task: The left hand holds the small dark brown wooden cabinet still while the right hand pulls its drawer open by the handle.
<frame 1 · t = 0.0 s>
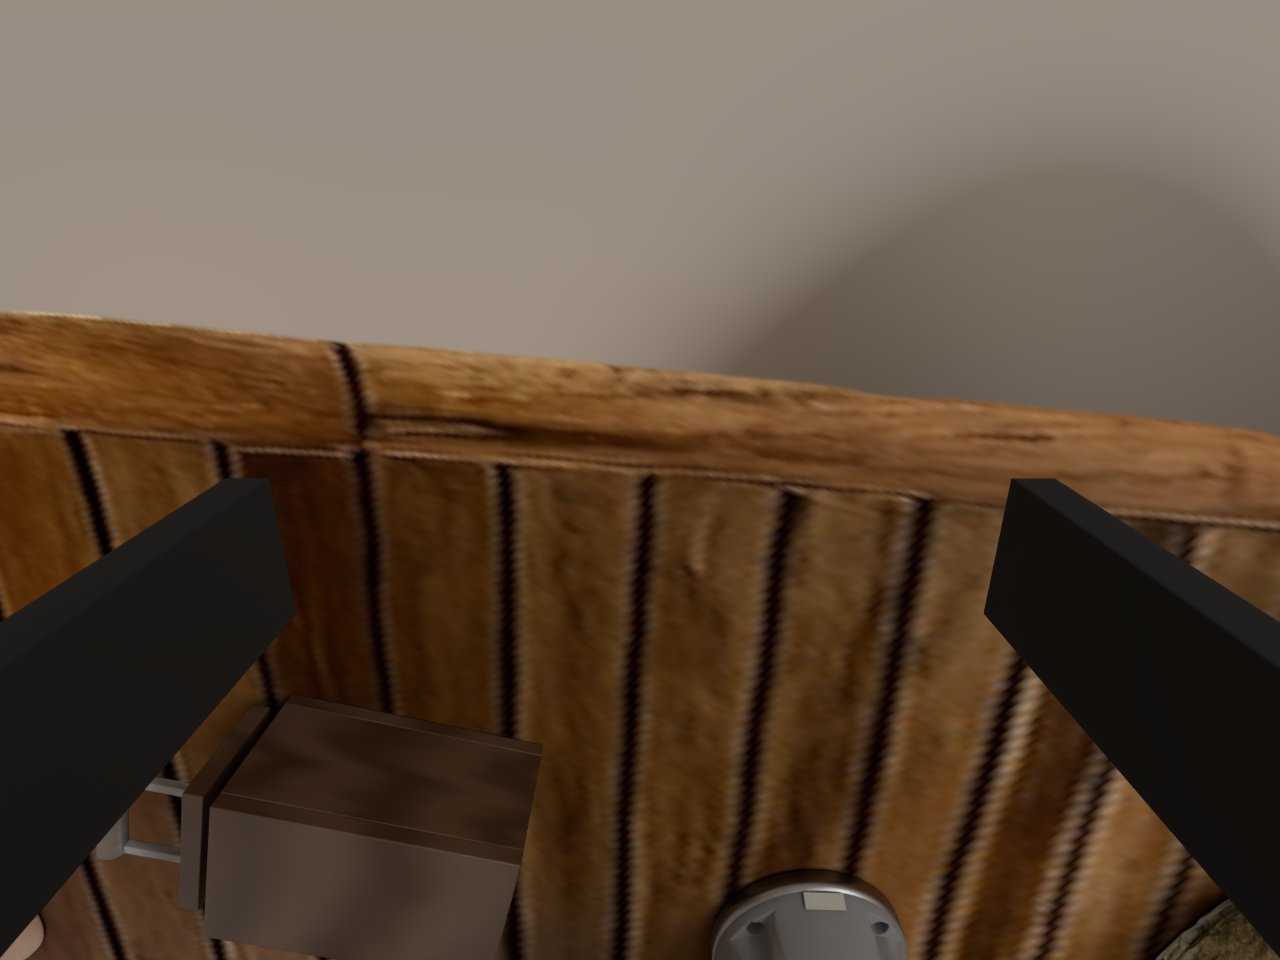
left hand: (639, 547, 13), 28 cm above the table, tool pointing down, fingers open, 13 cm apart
drawer: (297, 816, 45), point 5 cm above the table, slide at 0.9 cm
fossil: (1211, 943, 57), on the table
cabinet: (409, 777, 50), on the table
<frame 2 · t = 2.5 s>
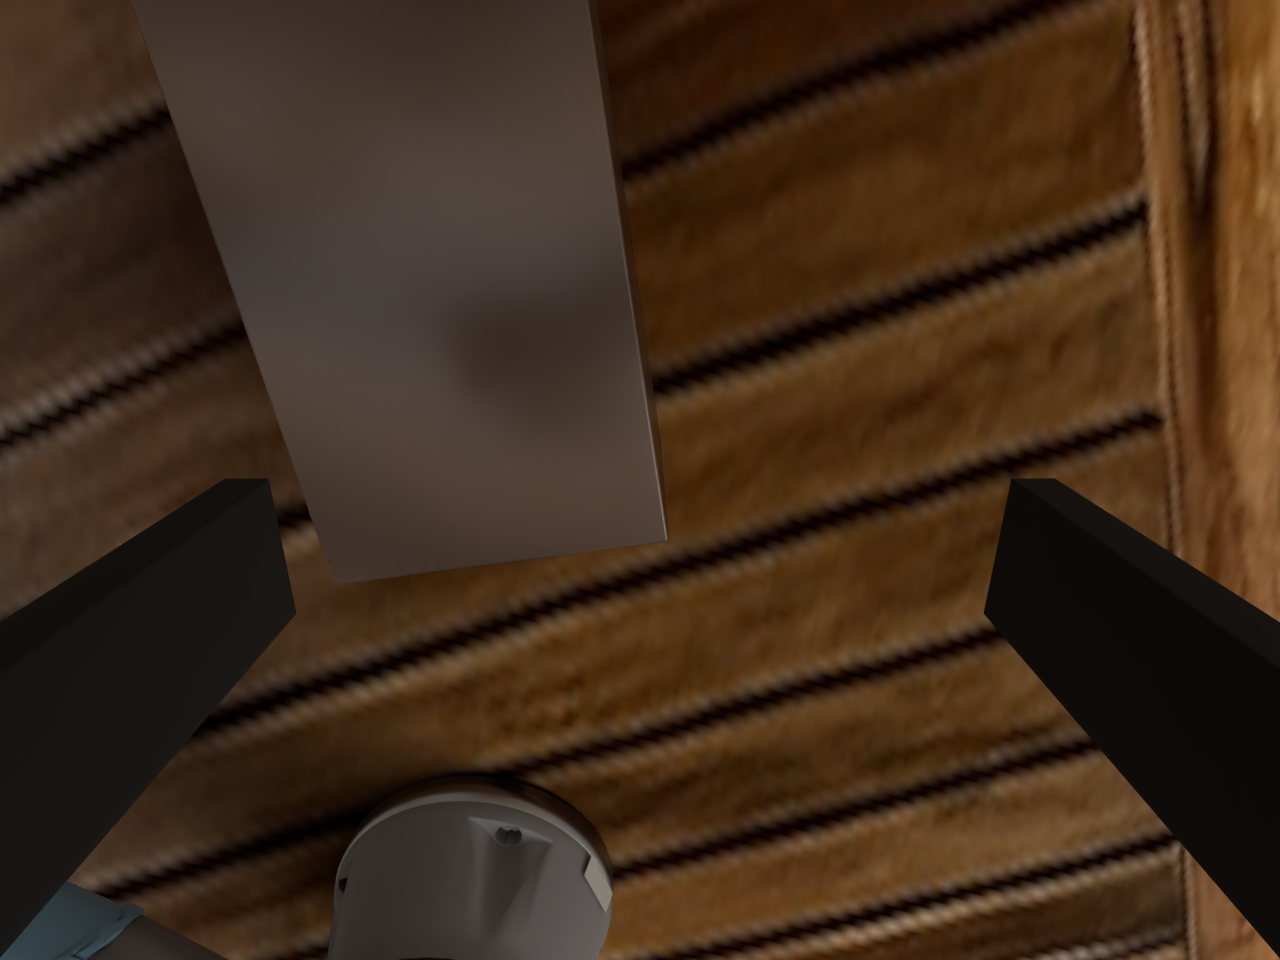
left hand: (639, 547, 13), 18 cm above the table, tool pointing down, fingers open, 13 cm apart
cabinet: (498, 254, 28), on the table
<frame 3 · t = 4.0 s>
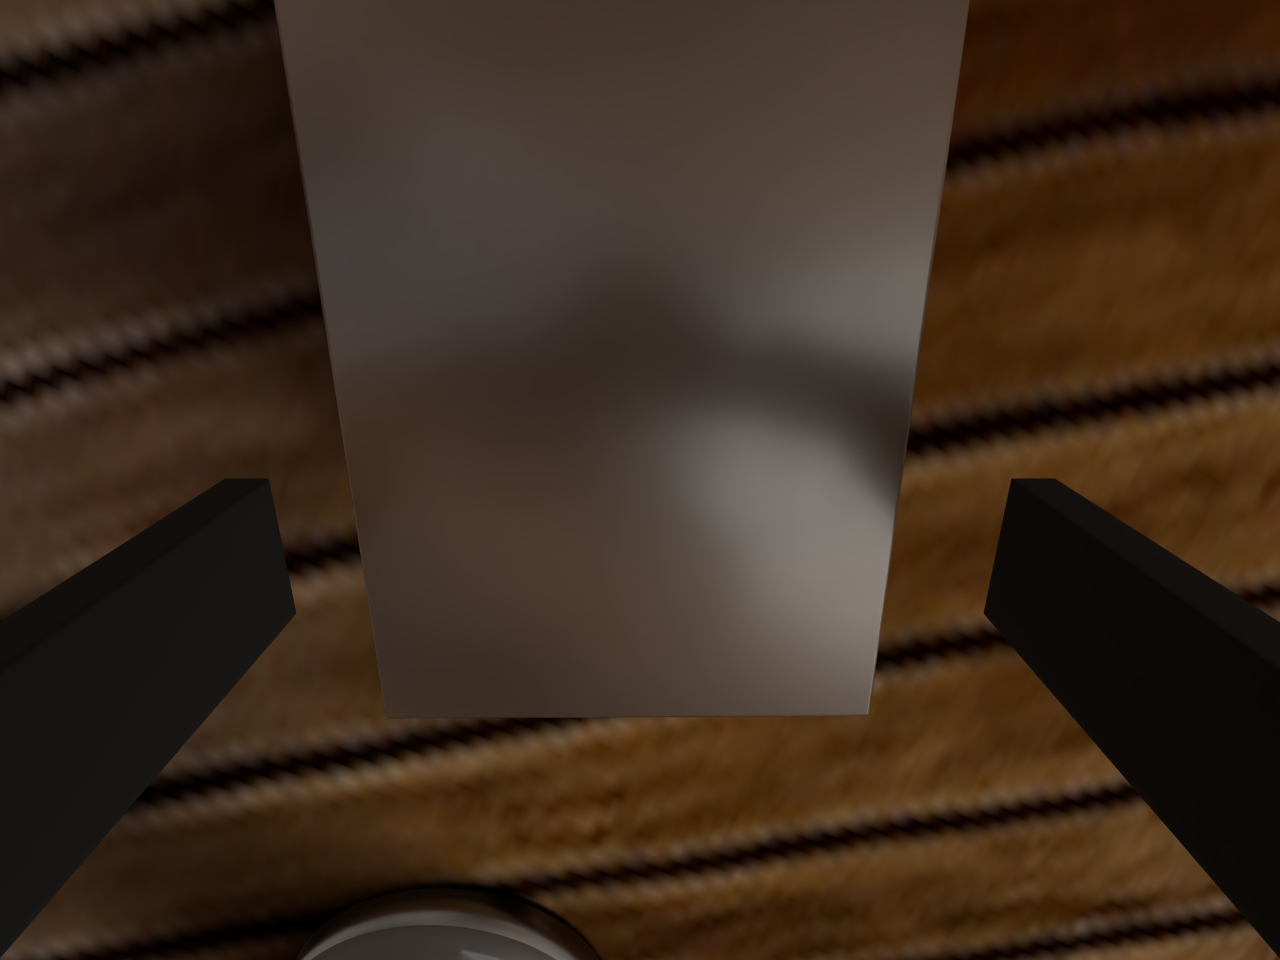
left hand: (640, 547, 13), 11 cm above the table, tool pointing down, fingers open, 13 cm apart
cabinet: (628, 272, 21), on the table
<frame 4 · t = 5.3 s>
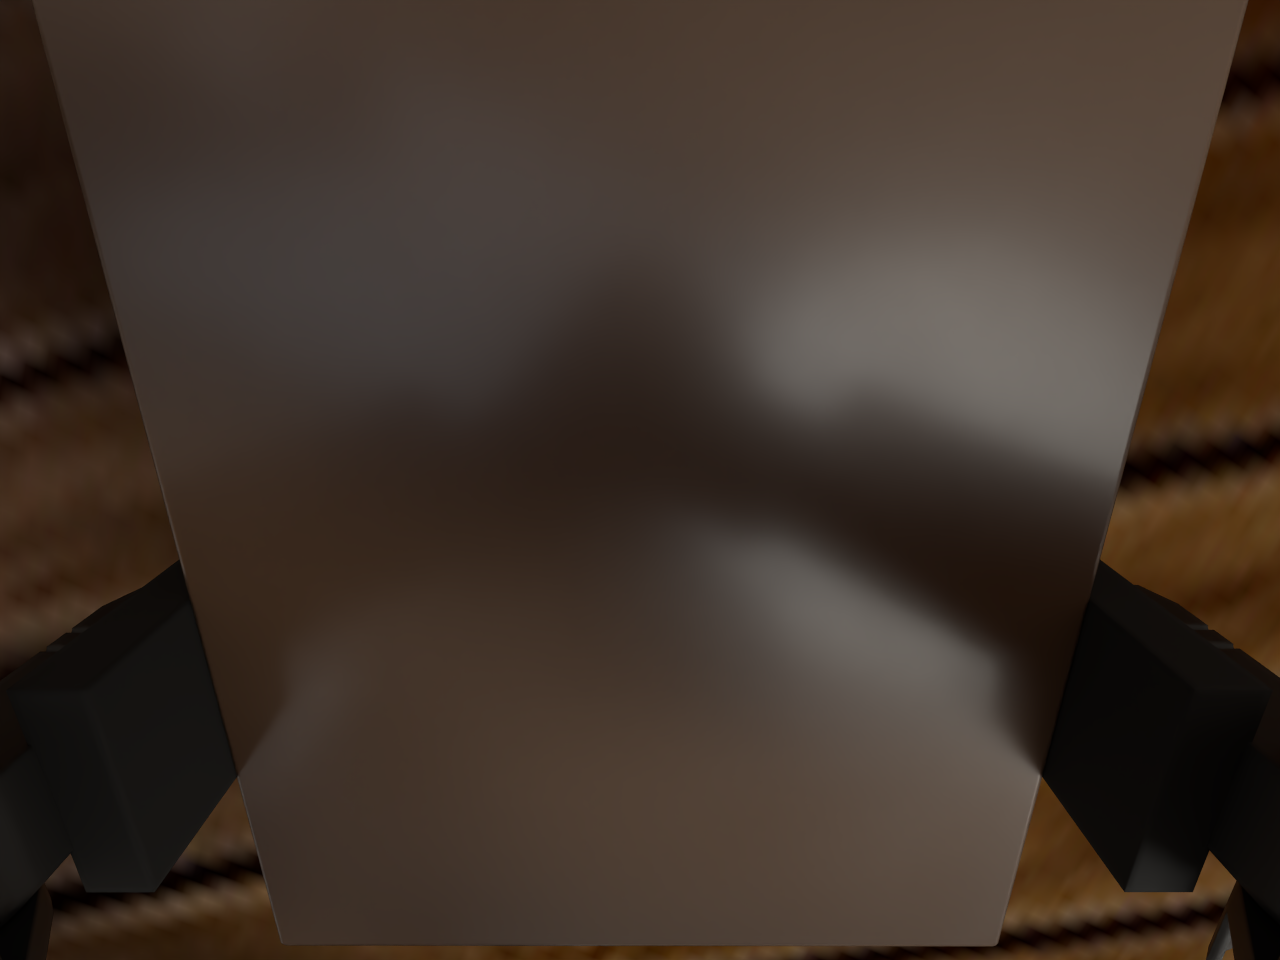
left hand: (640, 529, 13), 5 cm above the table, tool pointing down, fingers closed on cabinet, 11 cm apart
cabinet: (640, 278, 16), on the table, touching left hand
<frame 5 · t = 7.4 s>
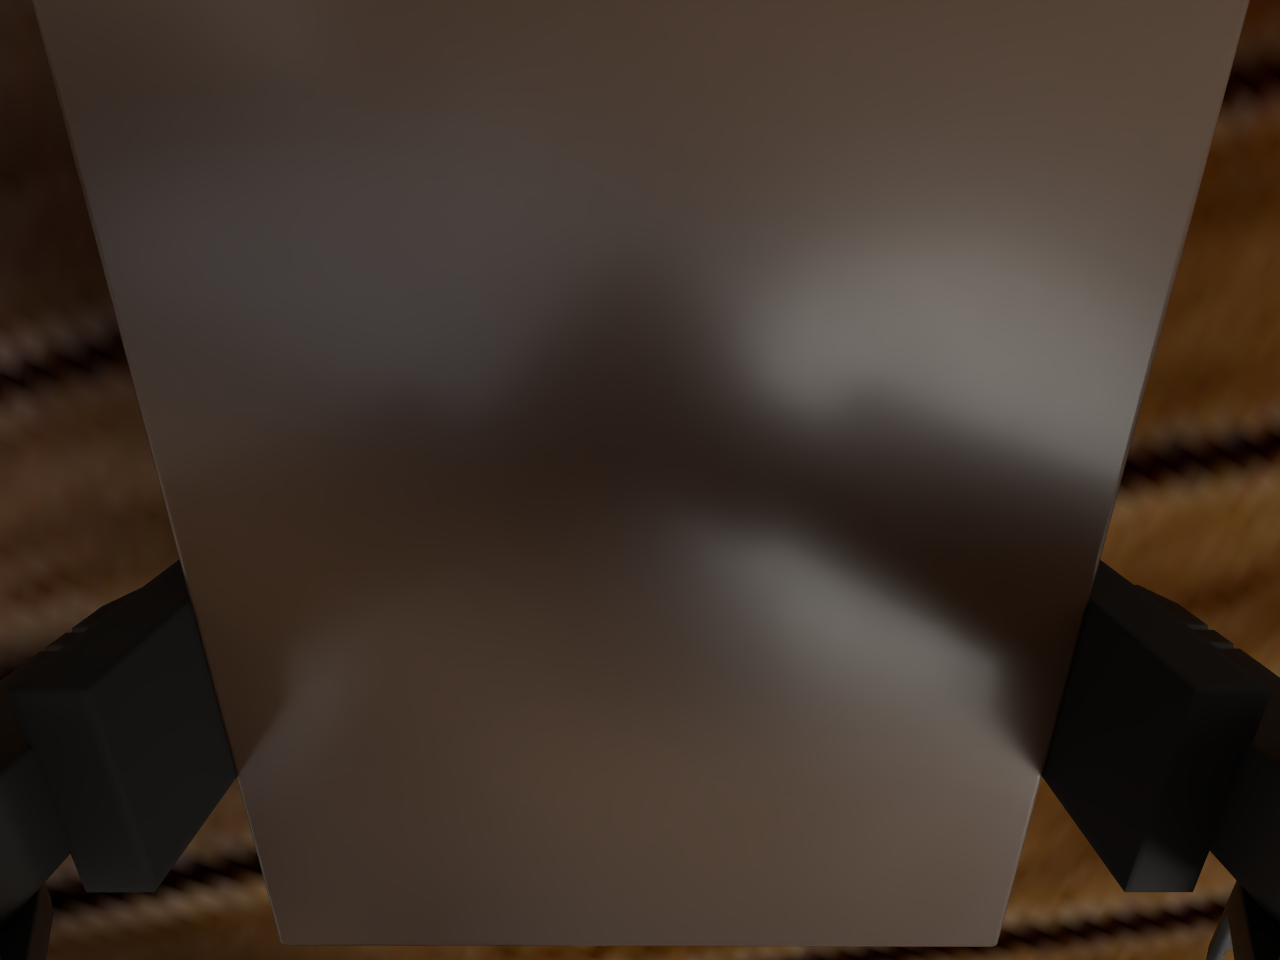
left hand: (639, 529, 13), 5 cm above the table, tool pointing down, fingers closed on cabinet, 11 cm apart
cabinet: (640, 278, 16), on the table, touching left hand
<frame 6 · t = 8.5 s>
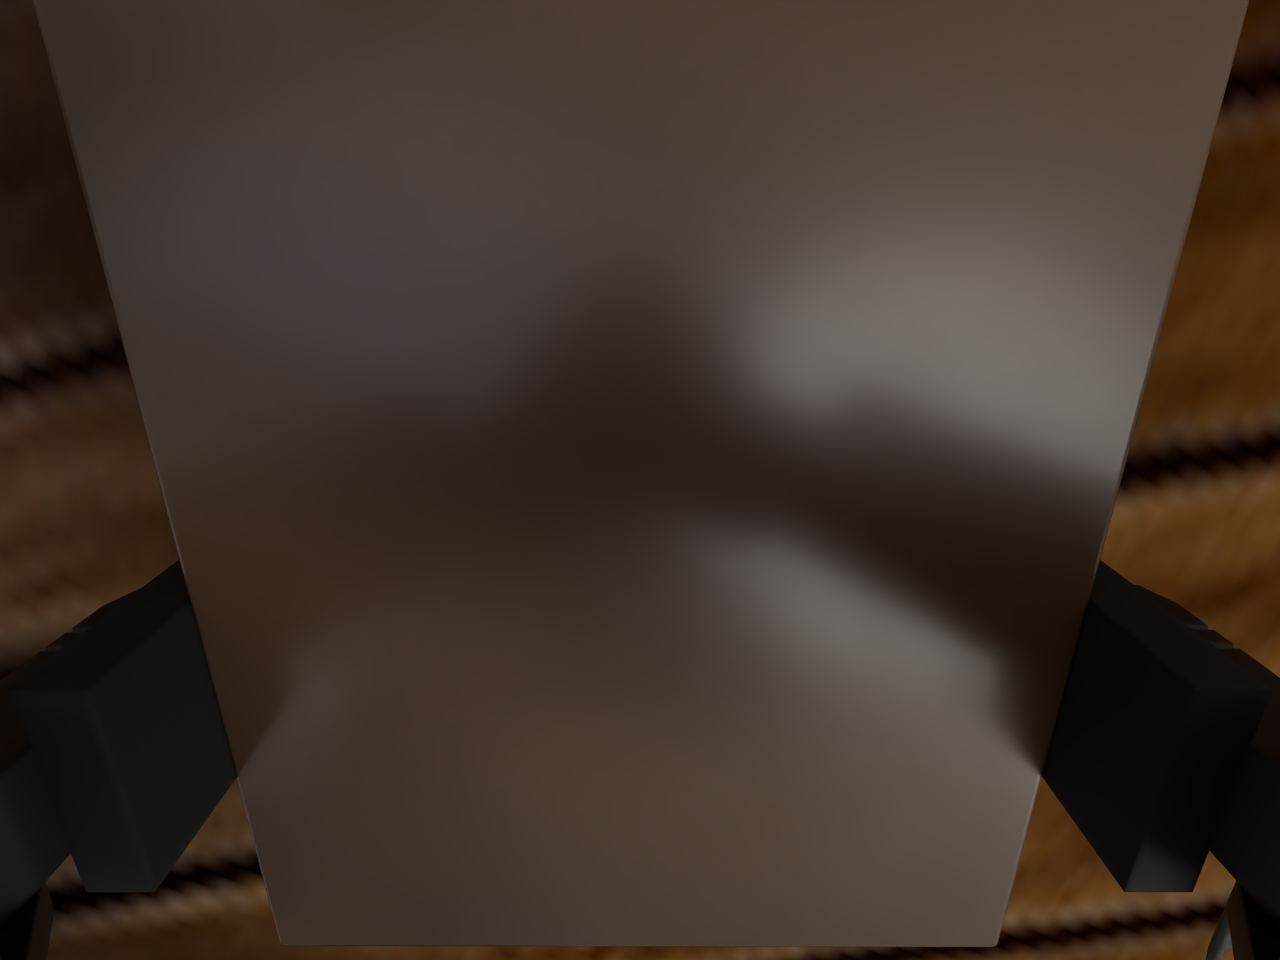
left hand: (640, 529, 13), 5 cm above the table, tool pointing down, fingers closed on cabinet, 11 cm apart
cabinet: (640, 278, 16), on the table, touching left hand
when the left hand's fingers open (5 cm above the table, at t = 10.0 s): cabinet stays where it is, on the table.
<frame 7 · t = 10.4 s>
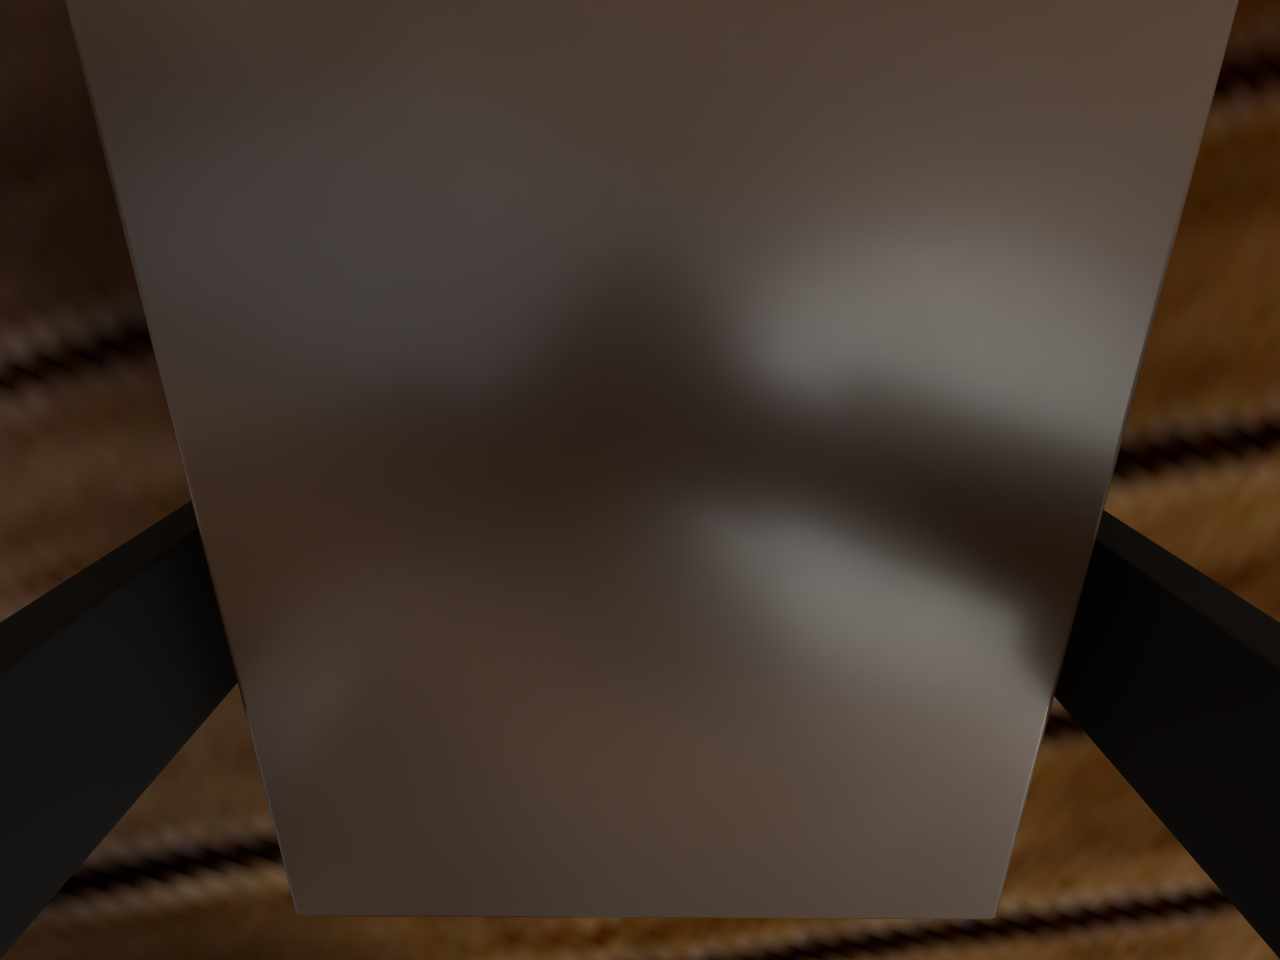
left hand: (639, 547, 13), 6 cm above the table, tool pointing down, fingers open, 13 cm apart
cabinet: (645, 268, 17), on the table
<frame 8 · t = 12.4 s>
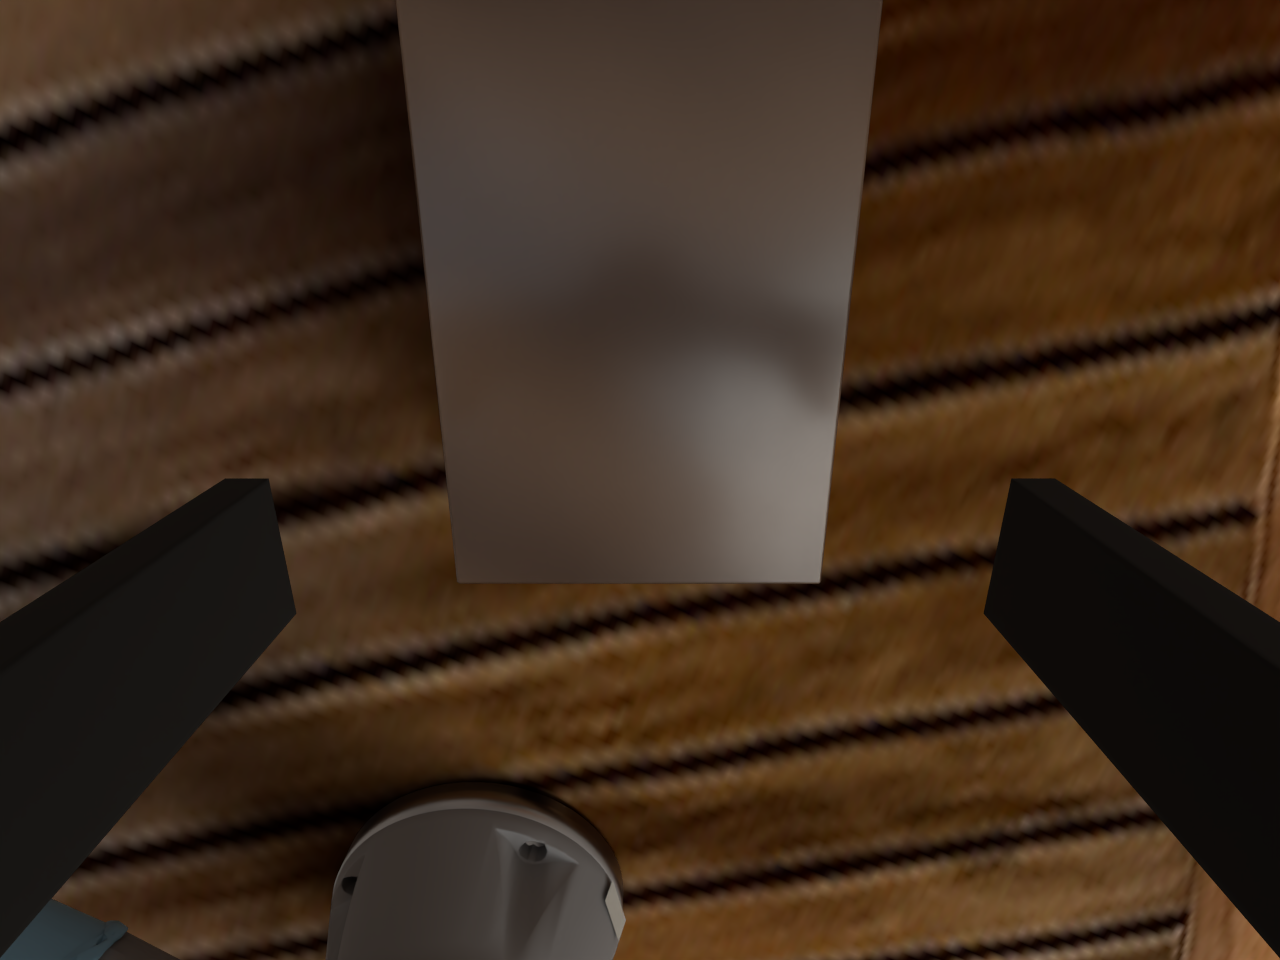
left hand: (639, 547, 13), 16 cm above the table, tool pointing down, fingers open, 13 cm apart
cabinet: (639, 252, 26), on the table
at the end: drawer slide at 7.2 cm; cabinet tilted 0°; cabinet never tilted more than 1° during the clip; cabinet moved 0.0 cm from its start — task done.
